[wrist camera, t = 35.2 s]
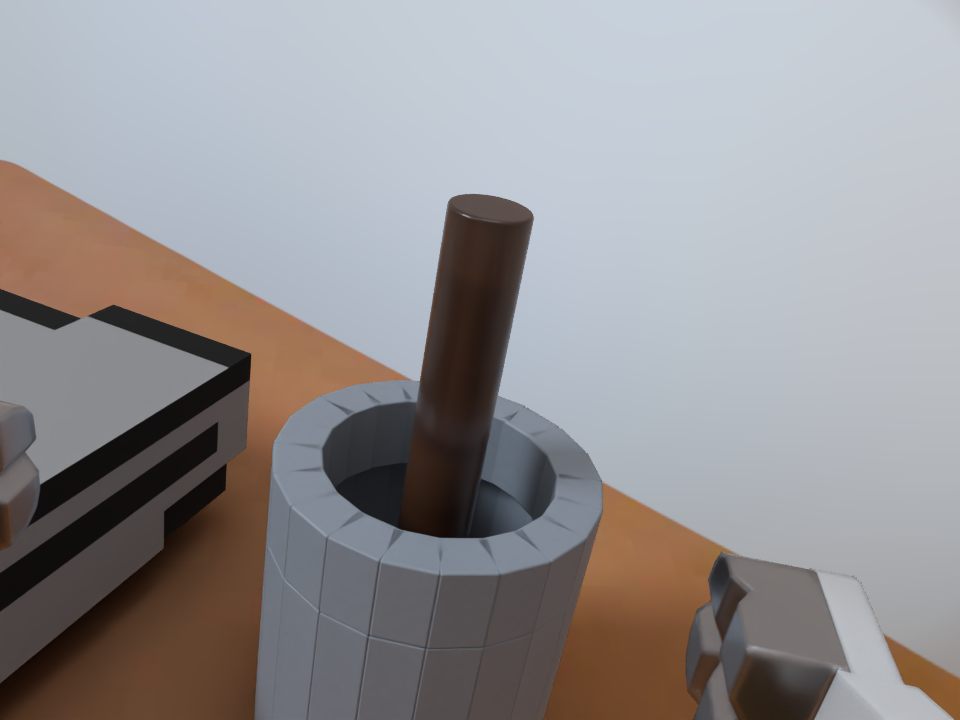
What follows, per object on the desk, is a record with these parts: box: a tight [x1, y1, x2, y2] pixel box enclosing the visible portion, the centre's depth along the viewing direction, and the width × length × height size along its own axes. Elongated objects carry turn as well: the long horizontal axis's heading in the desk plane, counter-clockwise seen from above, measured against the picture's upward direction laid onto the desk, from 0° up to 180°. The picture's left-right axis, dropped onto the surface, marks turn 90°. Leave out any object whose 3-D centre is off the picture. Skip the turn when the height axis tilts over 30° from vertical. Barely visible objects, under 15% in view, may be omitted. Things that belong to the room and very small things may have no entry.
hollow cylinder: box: [254, 380, 603, 720], centre depth 28 cm, size 10×10×11 cm
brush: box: [397, 194, 534, 538], centre depth 26 cm, size 3×3×18 cm
